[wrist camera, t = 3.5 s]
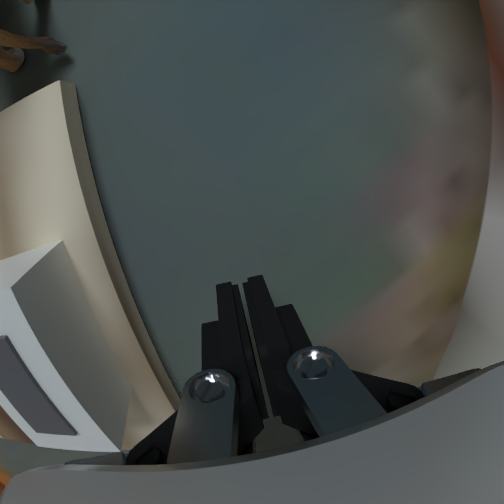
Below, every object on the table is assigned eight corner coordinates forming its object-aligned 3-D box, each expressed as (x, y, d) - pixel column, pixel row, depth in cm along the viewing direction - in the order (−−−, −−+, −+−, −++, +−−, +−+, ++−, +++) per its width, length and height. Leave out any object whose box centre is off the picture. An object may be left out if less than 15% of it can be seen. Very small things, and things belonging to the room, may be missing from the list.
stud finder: (62, 240, 10) (7, 291, 6) (132, 387, 13) (120, 455, 9) (-13, 264, 10) (-65, 310, 6) (58, 392, 13) (36, 448, 9)
